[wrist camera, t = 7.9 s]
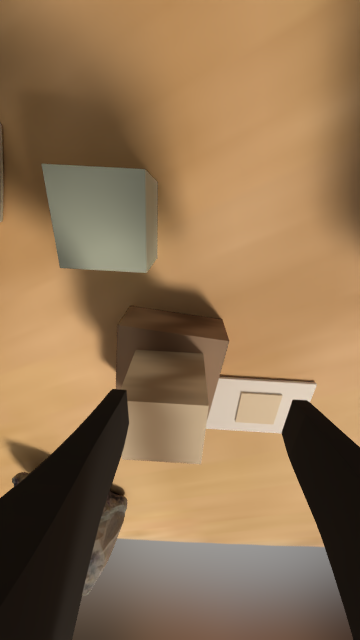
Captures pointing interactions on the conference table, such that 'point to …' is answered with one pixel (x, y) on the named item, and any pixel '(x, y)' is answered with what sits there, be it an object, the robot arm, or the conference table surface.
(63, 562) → the robot arm
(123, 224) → the sage cube
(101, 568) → the mineral rock
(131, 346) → the walnut block
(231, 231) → the conference table surface
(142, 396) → the maple cube
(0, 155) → the skincare box
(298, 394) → the card
